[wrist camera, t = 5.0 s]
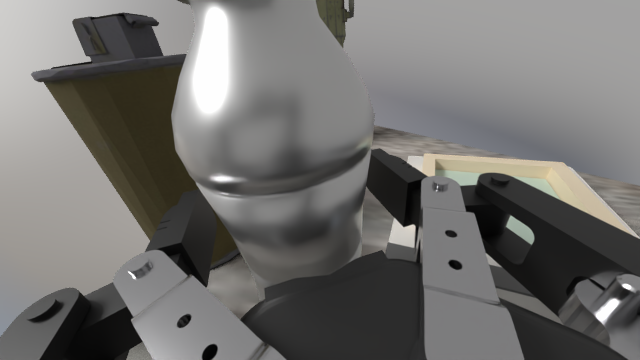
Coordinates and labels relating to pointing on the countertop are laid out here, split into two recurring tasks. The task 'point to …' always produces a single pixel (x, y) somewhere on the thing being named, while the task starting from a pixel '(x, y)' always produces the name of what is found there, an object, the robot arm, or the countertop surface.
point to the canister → (130, 116)
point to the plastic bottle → (275, 134)
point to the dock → (535, 173)
